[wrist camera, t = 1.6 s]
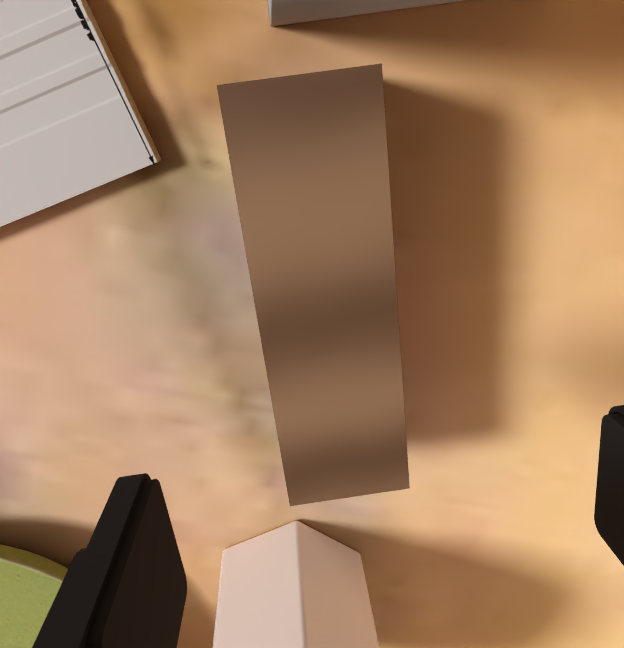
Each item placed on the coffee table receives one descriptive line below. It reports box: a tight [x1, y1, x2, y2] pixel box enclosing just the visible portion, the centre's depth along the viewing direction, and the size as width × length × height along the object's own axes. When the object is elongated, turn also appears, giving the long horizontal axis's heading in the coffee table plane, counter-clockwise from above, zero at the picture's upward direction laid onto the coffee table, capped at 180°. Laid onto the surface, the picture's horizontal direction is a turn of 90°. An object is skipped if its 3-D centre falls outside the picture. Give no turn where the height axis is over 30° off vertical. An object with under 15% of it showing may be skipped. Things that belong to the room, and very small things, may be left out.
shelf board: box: [217, 64, 410, 506], centre depth 22 cm, size 16×5×6 cm, turn 7°
